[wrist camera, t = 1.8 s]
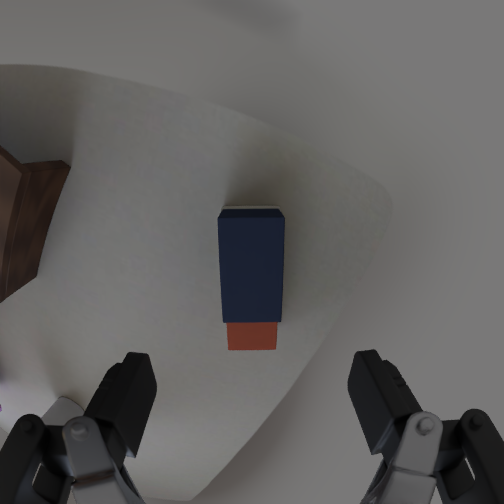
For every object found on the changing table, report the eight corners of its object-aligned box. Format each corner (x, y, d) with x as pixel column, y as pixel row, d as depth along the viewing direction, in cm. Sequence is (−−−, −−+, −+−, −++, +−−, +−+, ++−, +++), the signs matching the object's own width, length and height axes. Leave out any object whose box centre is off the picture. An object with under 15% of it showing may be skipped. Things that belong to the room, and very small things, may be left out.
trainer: (222, 206, 23) (215, 217, 18) (278, 205, 23) (286, 216, 18) (228, 329, 26) (224, 362, 22) (275, 329, 27) (280, 361, 22)
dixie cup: (43, 389, 31) (17, 428, 22) (74, 392, 31) (47, 438, 21) (70, 422, 34) (50, 461, 24) (102, 427, 33) (83, 472, 24)
